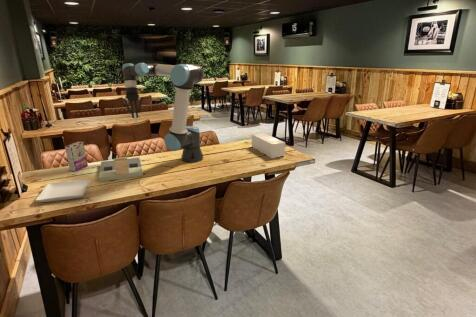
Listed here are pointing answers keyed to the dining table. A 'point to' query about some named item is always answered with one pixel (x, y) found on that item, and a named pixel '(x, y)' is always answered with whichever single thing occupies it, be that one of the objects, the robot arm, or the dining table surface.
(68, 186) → the salad plate
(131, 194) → the dining table surface
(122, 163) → the maple block
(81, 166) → the candy bar box
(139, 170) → the block
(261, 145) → the white rectangular block
